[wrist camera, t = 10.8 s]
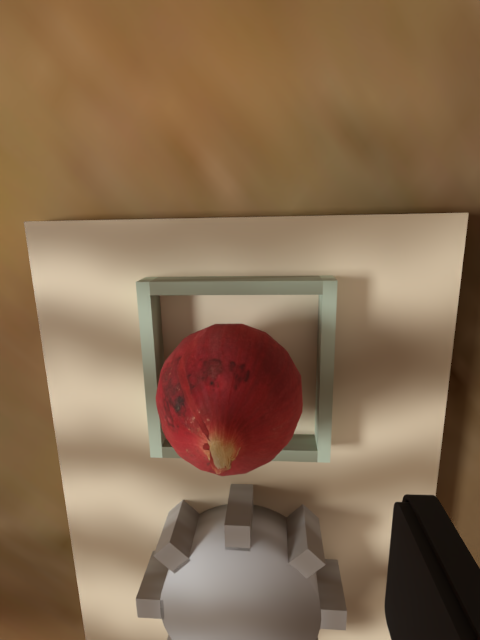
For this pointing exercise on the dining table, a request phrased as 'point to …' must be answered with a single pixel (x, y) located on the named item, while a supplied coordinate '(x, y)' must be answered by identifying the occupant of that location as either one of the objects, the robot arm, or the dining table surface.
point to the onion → (229, 399)
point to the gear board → (295, 458)
